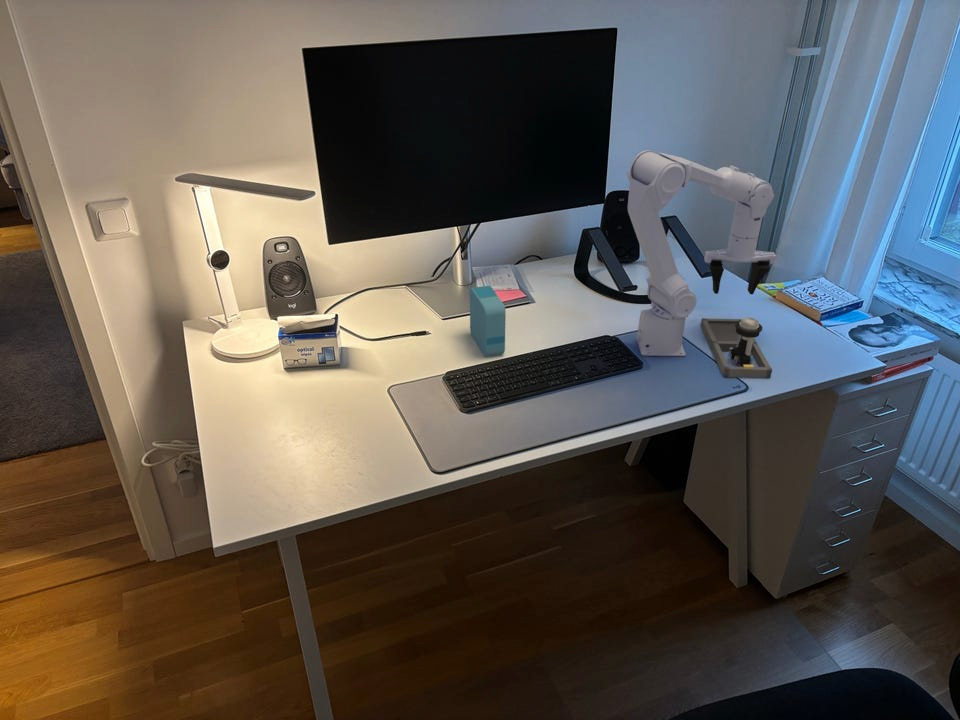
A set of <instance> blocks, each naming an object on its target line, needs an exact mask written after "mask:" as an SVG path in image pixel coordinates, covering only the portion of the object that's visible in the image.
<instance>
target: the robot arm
mask: <svg viewBox="0 0 960 720" xmlns="http://www.w3.org/2000/svg"><path fill="white" fill-rule="evenodd" d="M626 175H627V178H628V182H629V188H628V191H629V192H628V201H627V213H628V216H629V219H630V221H631V224H632V227H633V230H634V233H635V235H636V238H637V241H638V243H639V247H640V249H641V252H642V255H643V257H644V260H645V263H646V266H647V269H648V272H649V276H648V277H647V278H646V283H647V298H648V299H649V300H650V301H651V303H650V306H651V308H649V309H644V310H641V311H640V314H639V319H638V320H639V321H638V327H637V328H638V329H637V335H636V342H637V344H638V348H639V351H640V355H641V356H652V357H653V356H654V357H686V352H685V348H684V347H683V344H682V341H683V335H684V330H685V324H686V318H688V317H689V315H690V314H692V312H693V311H694V310H695V308H696V305H697V300H698V299H697V296H696V294H695V293H694V292H693V291H691V290H690V288H689V285H688V283H687V282H686V280H685V279H684V278H683V277H682V275H680V273H679V271H678V268H677V265H676V262H675V259H674V256H673V252H672V250H671V246H670V244H669V241H668V237H667V234H666V231H665V228H664V225H663V221H662V219H661V216H660V212H661V211H663V210H664V209H665V207H666V206H667V205H669V203H670V202H671V200H672V199H673V198H674V197H675V195H676V194H677V193H678V192H679V190H681V188H683V189H684V188H686V187H687V185H688V182H692V183H696V184H699V185H704V186H707V187H709V188H710V192H711V194H713V195H714V196H716V197H720V198H721V199H722V198H723V199H726V200H729V201H732V202H735V207H734V212H733V216H732V223H731V228H730V232H729V233H730V234H729V237H728V242H727V243H728V244H727V248H723V249H717V250H705V253H704V259H703V260H704V262H705V263H707V264H708V266H709V269H710V273H711V278H712V291H713V293H714V294H715V295H719V292H720V286H721V281H722V277H723V273H724V270H725V268H724V267H723V263H751V270H750V277H749V281H748V284H747V292H748V293H749V295H754V294H755V291H756V289H757V287H758V285H759V284H760V282H761V281H763V278H764V277H765V276H766V275H767V274H768V273H769V272H770V270H771V265H774V264H775V262H776V258H777V255H776V254H775V253H774V251H765V250H763V251H762V250H757V245H758V239H759V236H760V231H761V226H762V220H763V218H764V217H765V214H767V209H768V207H769V206H770V204H771V203H772V201H773V200H774V197H775V193H774V190H773V187H772V186H771V183H769V182H768V181H766V180H763V179H761V178H759V177H756V176H755V174H754V173H752V172H747V173H744V172H742V171H740V168H739V167H738V166H737V167H736V166H734V165H729V166H723V167H720V168H718V169H717V170H714V169H712V168H709V167H706V166H705V165H701V164H699V163H696V162H693V161H691V160H689V159H687V158H686V159H685V158H684V157H682V156H681V157H680V156H677V155H672V154H668V153H664V152H658V153H657V152H655V151H654V150H650V149H649V150H642V151H641V152H639V153H637V155H635V157H634V158H633V160H632V162H631V163H630V166H629V168H628V169H627V172H626Z"/></svg>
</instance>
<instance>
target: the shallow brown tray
mask: <svg viewBox="0 0 960 720" xmlns="http://www.w3.org/2000/svg"><path fill="white" fill-rule="evenodd" d="M741 319H742V318H705V317H704V318H703V317H702V318H701V321H700V328H701V331H702V333H703V334H704V338H705V339H706V341H707V344H708V346H709V348H710V350H711V352H712V355H713V357H714V359H715V361H716V363H717V365H718V368H719V370H720V372H721V374H722V377H723V378H739V379H740V378H744V379H745V378H747V379H748V378H751V379H771V378H772V373H773V369H772V366H771V365H770V363H769V362H768V360H767V358H766V357H765V355H764V353H763V350H762V349H761V347H760V345H759V344H758V342H757V341H756V339H755V338H754V340H753V344H752V351H751V354H752V357H753V359H754V360H755V362H756V363H757V365H758V366H754V364H751V365H743V367H740V366H730V365H729V364H728V361H727V359H726V357H725V354H724V352H728V353H729V352H730V351H731V349H730V348H736V346H737V344H738V339H739V334H737V333H736V327H735V324H736V322H737V321H739V320H741Z"/></svg>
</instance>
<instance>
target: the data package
mask: <svg viewBox="0 0 960 720" xmlns="http://www.w3.org/2000/svg"><path fill="white" fill-rule="evenodd" d="M506 313H507V312H506V306H505V304H504V302H502V300H501V298H500V297H499V295H498V294H497V292H496V291H495V290H494V288H493V287H492V286H491V285H484V286H476V287H471V288H470V289H469V329H470V330H469V331H470V334H471V336H472V338H473V340H474V341H475V343H476V346H477V347H478V348H479V351H480V352H481V354H482V356H484V357H488V356H495V355H502V354H504V353H505V352H506V315H507V314H506Z"/></svg>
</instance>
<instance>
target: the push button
mask: <svg viewBox="0 0 960 720" xmlns="http://www.w3.org/2000/svg"><path fill="white" fill-rule="evenodd" d="M740 319H741V320H739V321H737V322H736V324H735V327H736V333H737V334H739V339H738V344H737V346H736V348H730V349H731V351H730V352H728V353H729V354H730V355H731V357H730V358H731V360H733V363H734V364H735V365H738V366H739V367H743V365H753V360H754V356H753V354H752V353H751V351H752V344H753V340H754V339H755V338H757V337H759V336H760V334H761V332H762V331H763V325H761V324H760V322H759V321H758V320H757V319H756V318H752V317H743V318H740Z"/></svg>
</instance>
